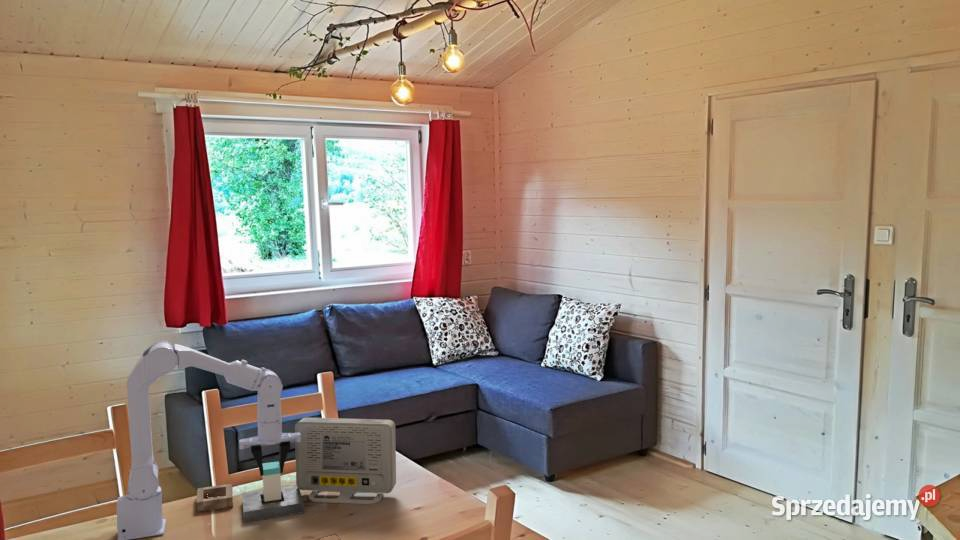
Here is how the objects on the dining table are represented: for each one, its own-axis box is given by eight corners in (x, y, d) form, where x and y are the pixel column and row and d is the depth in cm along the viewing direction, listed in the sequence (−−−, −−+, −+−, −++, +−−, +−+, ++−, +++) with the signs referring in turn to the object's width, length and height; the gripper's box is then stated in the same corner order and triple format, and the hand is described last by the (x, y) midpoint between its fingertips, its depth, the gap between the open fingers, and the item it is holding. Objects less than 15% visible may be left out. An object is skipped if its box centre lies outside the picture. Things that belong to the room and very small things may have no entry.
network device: (398, 491, 181) (397, 417, 180) (390, 505, 172) (389, 427, 171) (304, 487, 184) (302, 414, 182) (292, 501, 175) (290, 424, 173)
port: (244, 522, 163) (243, 512, 163) (242, 502, 175) (241, 493, 174) (303, 512, 168) (303, 502, 168) (298, 494, 180) (298, 485, 179)
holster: (196, 512, 169) (196, 502, 169) (197, 497, 178) (197, 488, 178) (232, 506, 172) (232, 497, 172) (232, 492, 181) (231, 483, 181)
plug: (264, 501, 168) (263, 469, 168) (263, 494, 173) (262, 463, 173) (281, 499, 170) (280, 467, 169) (279, 492, 175) (278, 461, 174)
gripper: (239, 428, 163) (241, 483, 164) (301, 420, 169) (303, 474, 170) (238, 419, 170) (240, 472, 171) (298, 413, 175) (299, 464, 176)
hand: (271, 473), depth 171 cm, fingers closed on plug, 4 cm apart
